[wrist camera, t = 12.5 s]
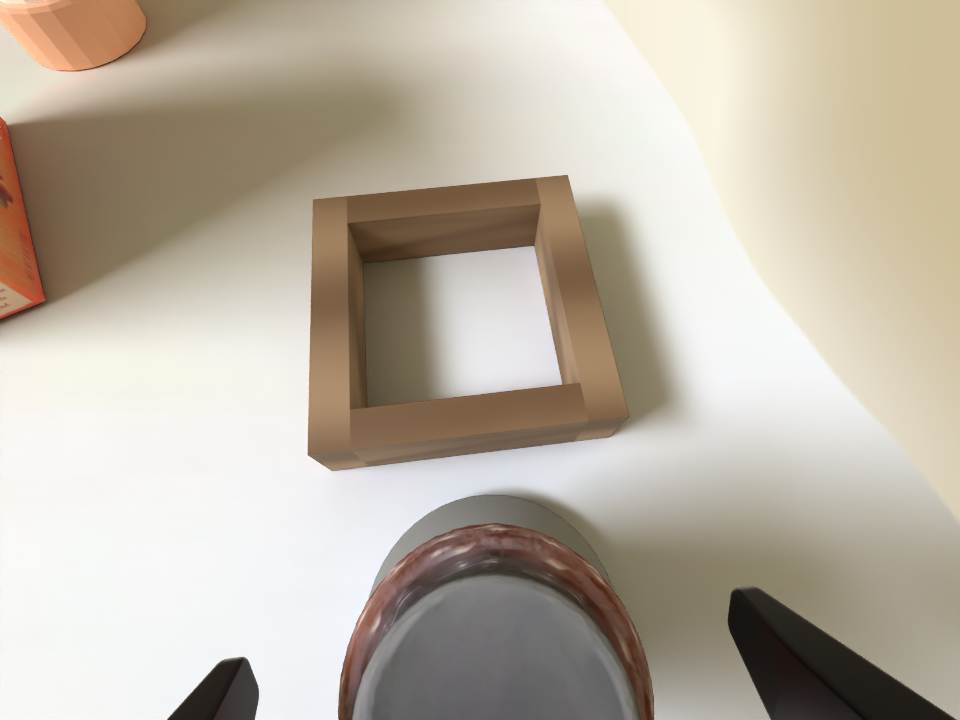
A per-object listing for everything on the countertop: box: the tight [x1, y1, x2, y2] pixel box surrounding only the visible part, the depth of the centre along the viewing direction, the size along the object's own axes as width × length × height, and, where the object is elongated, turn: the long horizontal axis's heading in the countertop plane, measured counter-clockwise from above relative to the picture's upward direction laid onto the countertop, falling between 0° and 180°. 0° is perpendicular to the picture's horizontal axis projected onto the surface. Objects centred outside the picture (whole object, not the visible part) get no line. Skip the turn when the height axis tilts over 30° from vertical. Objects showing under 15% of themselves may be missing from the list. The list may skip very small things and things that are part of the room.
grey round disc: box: [369, 495, 613, 598], centre depth 17 cm, size 9×9×1 cm
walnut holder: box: [308, 175, 629, 471], centre depth 21 cm, size 12×12×3 cm
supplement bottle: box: [338, 523, 654, 720], centre depth 11 cm, size 6×6×11 cm
